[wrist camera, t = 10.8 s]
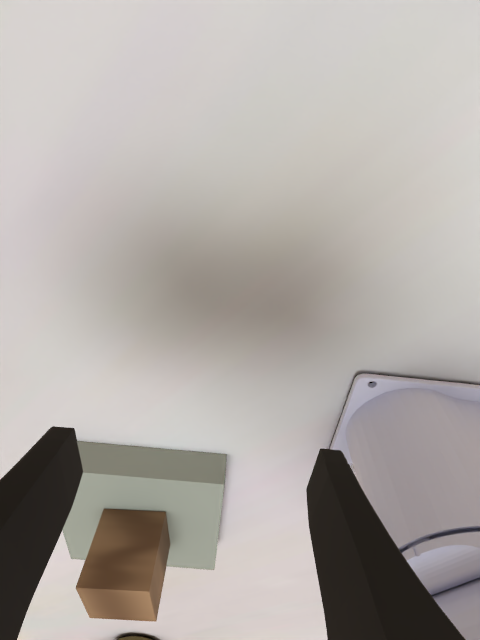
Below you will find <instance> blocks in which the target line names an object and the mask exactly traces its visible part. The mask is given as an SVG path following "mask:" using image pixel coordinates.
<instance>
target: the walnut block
mask: <svg viewBox="0 0 480 640" xmlns="http://www.w3.org/2000/svg"><path fill="white" fill-rule="evenodd" d="M169 549H170V538H169V531H168V524H167V517H166V512H159V511H139V510H119V509H103V512H102V515H101V518H100V521H99V524H98V526H97V529H96V532H95V535H94V538H93V541H92V543H91V546H90V549H89V552H88V555H87V557H86V560H85V563H84V566H83V569H82V572H81V574H80V577H79V580H78V583H77V586H76V589H77V591H78V594H79V596H80V598H81V600H82V602H83V604H84V606H85V609H86V611H87V613H88V615H89V617H90V618H102V619H120V620H139V621H156V620H157V614H158V609H159V603H160V598H161V592H162V587H163V581H164V576H165V571H166V565H167V560H168V554H169Z"/></svg>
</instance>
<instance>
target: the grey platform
mask: <svg viewBox="0 0 480 640" xmlns="http://www.w3.org/2000/svg"><path fill="white" fill-rule="evenodd" d="M77 444H78V449H79V453H80V458H81V463H82V468H83V474H82V478H81V481H80V484H79V487H78V491H77V494H76V497H75V500H74V503H73V506H72V509H71V511H70V513H69V516H68V518H67V520H66V523H65V525H64V527H63V529H62V530H63V533H64V536H65V540H66V543H67V546H68V550H69V553H70V556H71V559H81V560H86V557H87V555H88V552H89V549H90V546H91V543H92V541H93V538H94V535H95V532H96V529H97V526H98V524H99V521H100V518H101V515H102V512H103V509H119V510H139V511H159V512H166V517H167V524H168V531H169V538H170V549H169V554H168V560H167V565H166V566H169V567H181V568H194V569H207V570H214V568H215V560H216V552H217V543H218V535H219V526H220V518H221V510H222V501H223V493H224V484H225V470H226V457H227V454H217V453H206V452H195V451H183V450H172V449H161V448H150V447H139V446H127V445H116V444H105V443H94V442H82V441H77Z"/></svg>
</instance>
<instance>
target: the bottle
mask: <svg viewBox="0 0 480 640" xmlns="http://www.w3.org/2000/svg"><path fill="white" fill-rule="evenodd" d="M118 640H152V639H150V638H147V637H144V636H134V635H133V636H127V637H123V638H119V639H118Z"/></svg>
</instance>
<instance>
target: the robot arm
mask: <svg viewBox="0 0 480 640" xmlns="http://www.w3.org/2000/svg"><path fill="white" fill-rule="evenodd" d="M371 381H374V382H373V383H369V382H371ZM349 464H352V465H353V468H354V472H355V475H354V473H353V471H352V469H351V467H350V465H349ZM82 474H83V468H82V463H81V458H80V453H79V449H78V444H77V439H76V434H75V430H74V428H64V427H52V428H50V429H49V430H48V431H47V432H46V433H45V434H44V435H43V436H42V438H41V439H40V440H39V441H38V442H37V443H36V444H35V445H34V446H33V447H32V448H31V449H30V450H29V451H28V452H27V453H26V454H25V455H24V456H23V457H22V458H21V460H20V461H19V462H18V463H17V464H16V465H15V466H14V467H13V468H12V469H11V470H10V471H9V472H8V473H7V474H6V475H5V476H4V477H3V478H2V479H1V480H0V640H17V638H18V635H19V632H20V629H21V626H22V623H23V621H24V618H25V615H26V612H27V610H28V607H29V605H30V602H31V600H32V597H33V595H34V592H35V590H36V588H37V586H38V583H39V581H40V579H41V577H42V575H43V572H44V570H45V568H46V566H47V563H48V561H49V559H50V557H51V554H52V552H53V550H54V548H55V545H56V543H57V541H58V539H59V536H60V534H61V532H62V529H63V527H64V525H65V523H66V520H67V518H68V516H69V513H70V511H71V509H72V506H73V503H74V500H75V497H76V494H77V491H78V487H79V484H80V481H81V478H82ZM355 476H356V477H355ZM307 505H308V519H309V528H310V534H311V540H312V546H313V552H314V557H315V563H316V569H317V574H318V580H319V585H320V591H321V597H322V602H323V608H324V614H325V621H326V628H327V636H328V640H480V385H473V384H463V383H453V382H443V381H434V380H424V379H414V378H404V377H394V376H384V375H374V374H359V375H358V376H356V377H355V379H354V382H353V385H352V387H351V390H350V393H349V396H348V399H347V401H346V404H345V407H344V410H343V413H342V416H341V418H340V421H339V424H338V427H337V430H336V432H335V435H334V438H333V441H332V444H331V446H330V449H320V451H319V454H318V457H317V460H316V463H315V466H314V469H313V472H312V474H311V477H310V480H309V483H308V486H307Z"/></svg>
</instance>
